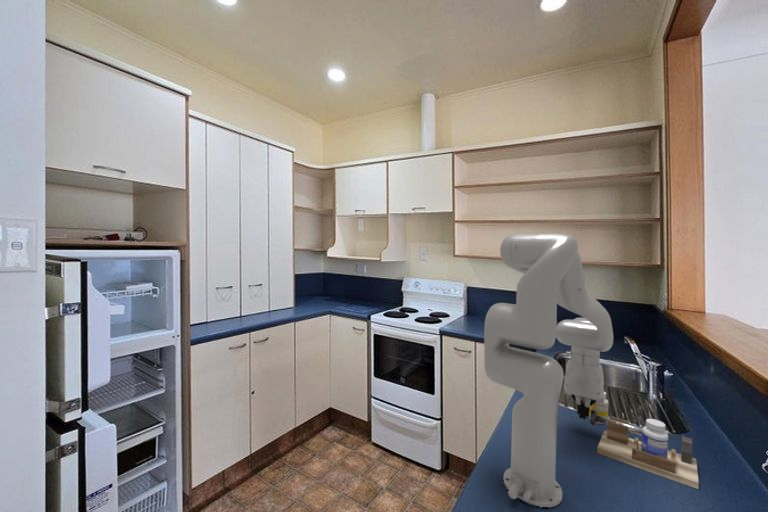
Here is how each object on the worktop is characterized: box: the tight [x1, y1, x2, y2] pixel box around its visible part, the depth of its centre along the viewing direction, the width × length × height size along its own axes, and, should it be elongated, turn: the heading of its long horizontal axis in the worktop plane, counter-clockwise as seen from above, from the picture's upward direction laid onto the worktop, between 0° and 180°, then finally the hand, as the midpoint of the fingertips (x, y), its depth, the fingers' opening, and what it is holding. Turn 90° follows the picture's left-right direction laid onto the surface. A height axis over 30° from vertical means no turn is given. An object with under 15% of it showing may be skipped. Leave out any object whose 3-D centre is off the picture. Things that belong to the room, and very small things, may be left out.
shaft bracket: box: [596, 415, 700, 490], centre depth 90 cm, size 12×20×7 cm, turn 49°
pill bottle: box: [641, 418, 669, 459], centre depth 88 cm, size 5×5×10 cm
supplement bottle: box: [588, 391, 609, 425], centre depth 111 cm, size 5×5×10 cm
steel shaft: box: [589, 409, 643, 437], centre depth 96 cm, size 4×17×4 cm, turn 49°
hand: (583, 417), depth 103 cm, fingers closed
